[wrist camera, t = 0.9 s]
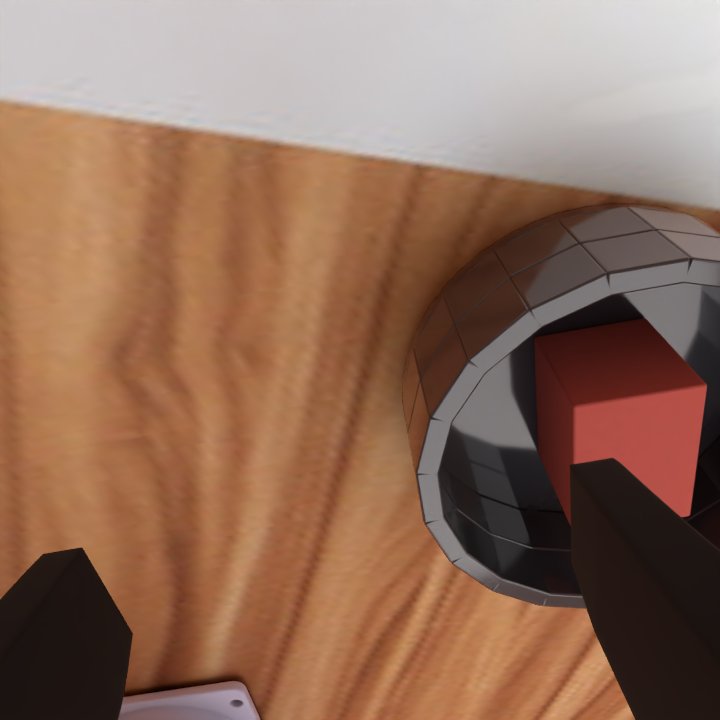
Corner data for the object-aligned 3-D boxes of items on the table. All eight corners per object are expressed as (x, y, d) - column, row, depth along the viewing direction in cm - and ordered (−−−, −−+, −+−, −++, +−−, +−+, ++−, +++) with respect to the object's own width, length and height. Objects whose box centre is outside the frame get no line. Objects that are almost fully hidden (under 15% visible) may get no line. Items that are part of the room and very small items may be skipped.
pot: (741, 485, 23) (816, 577, 19) (424, 534, 23) (442, 633, 20) (800, 166, 17) (923, 217, 13) (375, 243, 17) (387, 311, 14)
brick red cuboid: (637, 437, 21) (690, 516, 18) (537, 453, 21) (573, 535, 18) (646, 316, 18) (708, 384, 15) (533, 336, 18) (573, 406, 15)
